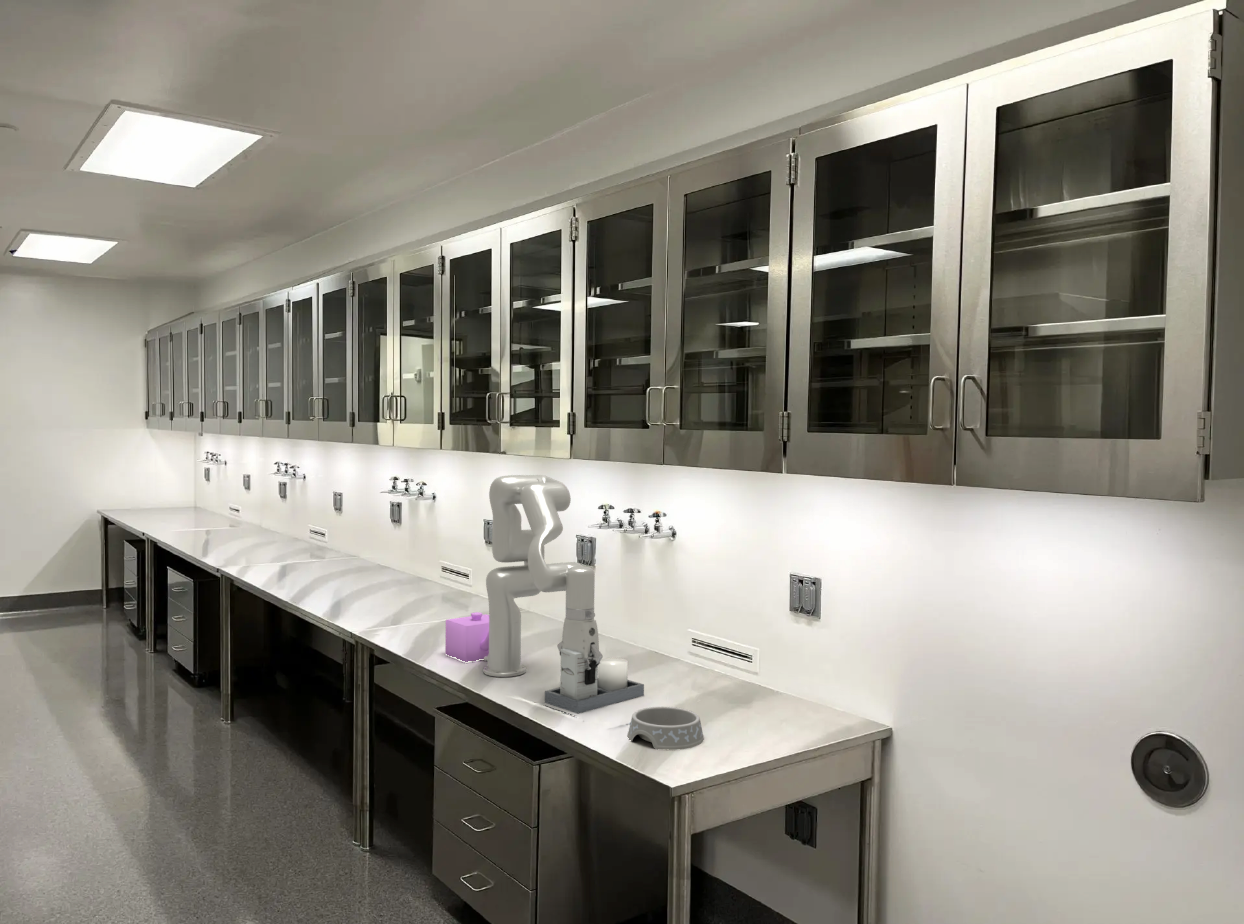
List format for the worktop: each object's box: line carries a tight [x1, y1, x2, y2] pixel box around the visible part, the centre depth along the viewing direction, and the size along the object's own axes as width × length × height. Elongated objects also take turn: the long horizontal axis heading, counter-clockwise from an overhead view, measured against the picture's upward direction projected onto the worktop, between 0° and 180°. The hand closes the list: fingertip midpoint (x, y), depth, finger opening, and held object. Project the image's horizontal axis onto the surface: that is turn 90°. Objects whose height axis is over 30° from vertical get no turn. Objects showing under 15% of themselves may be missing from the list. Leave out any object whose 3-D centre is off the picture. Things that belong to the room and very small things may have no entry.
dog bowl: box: [626, 706, 705, 750], centre depth 215 cm, size 17×18×5 cm
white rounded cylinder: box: [598, 657, 629, 692], centre depth 247 cm, size 8×8×9 cm
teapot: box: [444, 611, 489, 662], centre depth 291 cm, size 15×25×14 cm, turn 40°
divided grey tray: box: [544, 679, 645, 717], centre depth 242 cm, size 13×24×4 cm, turn 135°
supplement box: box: [559, 648, 598, 700], centre depth 238 cm, size 7×7×13 cm
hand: (579, 680), depth 238 cm, fingers closed on supplement box, 7 cm apart
